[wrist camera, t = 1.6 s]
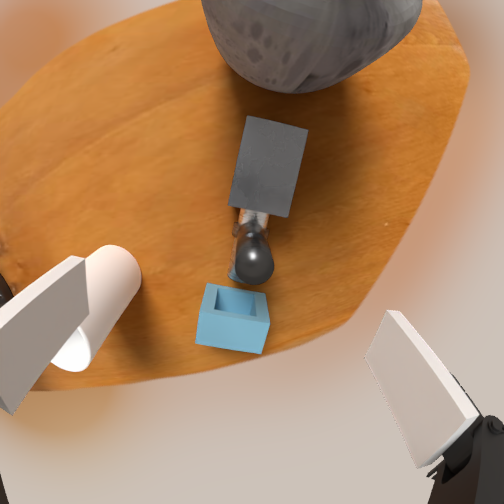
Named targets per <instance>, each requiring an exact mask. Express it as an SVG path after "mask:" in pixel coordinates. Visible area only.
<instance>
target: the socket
mask: <svg viewBox="0 0 504 504" xmlns="http://www.w3.org/2000/svg"><path fill="white" fill-rule="evenodd" d="M269 326H270V319H269V312H268V306H267V300H266V294H265V293H260V292H254V291H249V290H243V289H237V288H232V287H227V286H221V285H216V284H211V283H207V285H206V289H205V293H204V296H203V300H202V304H201V308H200V313H199V319H198V327H197V334H196V341H195V343H197V344H202V345H207V346H213V347H218V348H224V349H231V350H237V351H244V352H250V353H258V354H261V352H262V349H263V346H264V343H265V339H266V336H267V333H268V330H269Z"/></svg>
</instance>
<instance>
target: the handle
mask: <svg viewBox="0 0 504 504" xmlns="http://www.w3.org/2000/svg"><path fill="white" fill-rule="evenodd" d="M269 215H270V214H267V213H262V212H258V211H253V210H248V209H243V208H241V210H240V215H239V219H238V222H235V223H234V226H233V231H232V235H233V236H234V237H235V239H234V244H233V249H232V254H231V258H230V263H229V268H228V273H227V275H228V277H229V278H230V279H232V280H234V281H237V282H241V283H247V284H251V285H258V284H261V283H264V282H265V281H267V280H268V279H269V278H270V277H271V275H272V273H273V271H274V262H273V259H272V255H271V252H270V248H269V245H268V242H267V239H268V235H269V229H267V223H268V219H269Z"/></svg>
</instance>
